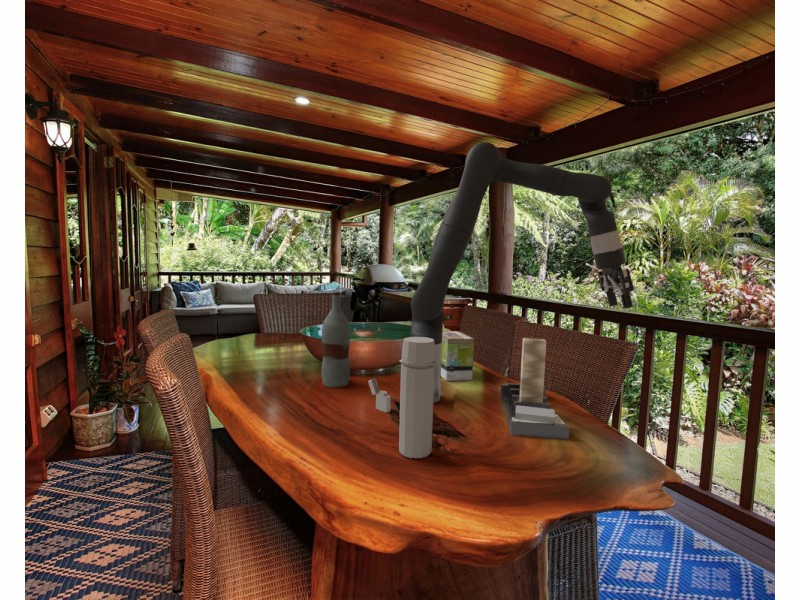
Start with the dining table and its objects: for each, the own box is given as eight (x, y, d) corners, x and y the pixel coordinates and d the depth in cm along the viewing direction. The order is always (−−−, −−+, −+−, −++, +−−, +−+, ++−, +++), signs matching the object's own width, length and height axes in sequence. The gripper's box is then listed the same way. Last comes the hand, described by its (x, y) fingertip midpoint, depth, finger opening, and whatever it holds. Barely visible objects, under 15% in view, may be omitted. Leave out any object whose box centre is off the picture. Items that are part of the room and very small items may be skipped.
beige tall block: (520, 415, 119) (524, 340, 116) (518, 411, 122) (522, 338, 119) (541, 417, 118) (546, 341, 116) (539, 413, 121) (544, 339, 119)
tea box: (473, 380, 156) (475, 337, 154) (445, 381, 153) (447, 338, 152) (457, 369, 170) (459, 330, 168) (432, 370, 168) (433, 330, 166)
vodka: (330, 389, 141) (330, 293, 138) (315, 382, 148) (316, 291, 145) (355, 384, 147) (356, 292, 144) (340, 378, 154) (341, 290, 151)
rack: (510, 441, 106) (511, 418, 105) (499, 398, 136) (500, 380, 136) (568, 445, 104) (569, 422, 104) (544, 401, 135) (545, 383, 134)
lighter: (390, 411, 124) (391, 382, 123) (386, 412, 122) (387, 384, 121) (371, 405, 128) (372, 377, 127) (367, 406, 127) (367, 378, 126)
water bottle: (430, 462, 94) (434, 344, 91) (393, 458, 96) (396, 341, 93) (436, 444, 103) (439, 336, 100) (402, 440, 105) (405, 333, 102)
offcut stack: (514, 434, 106) (515, 415, 106) (511, 422, 114) (512, 404, 113) (565, 438, 105) (566, 419, 104) (558, 425, 112) (559, 408, 112)
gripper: (583, 254, 132) (596, 308, 133) (605, 251, 118) (619, 311, 119) (609, 248, 132) (621, 302, 133) (633, 244, 118) (647, 304, 118)
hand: (620, 306), depth 126 cm, fingers open, 8 cm apart
